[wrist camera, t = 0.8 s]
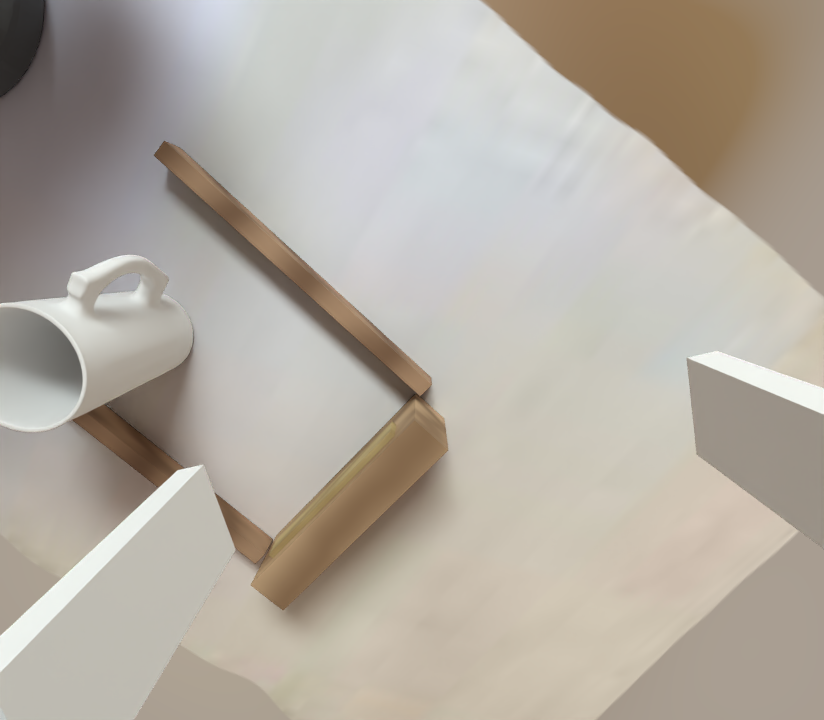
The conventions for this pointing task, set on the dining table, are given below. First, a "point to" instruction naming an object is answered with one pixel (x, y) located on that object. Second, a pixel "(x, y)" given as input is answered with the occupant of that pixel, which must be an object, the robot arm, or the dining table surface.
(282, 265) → the guide lane
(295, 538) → the end stop
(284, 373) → the dining table surface
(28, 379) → the mug
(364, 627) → the dining table surface
